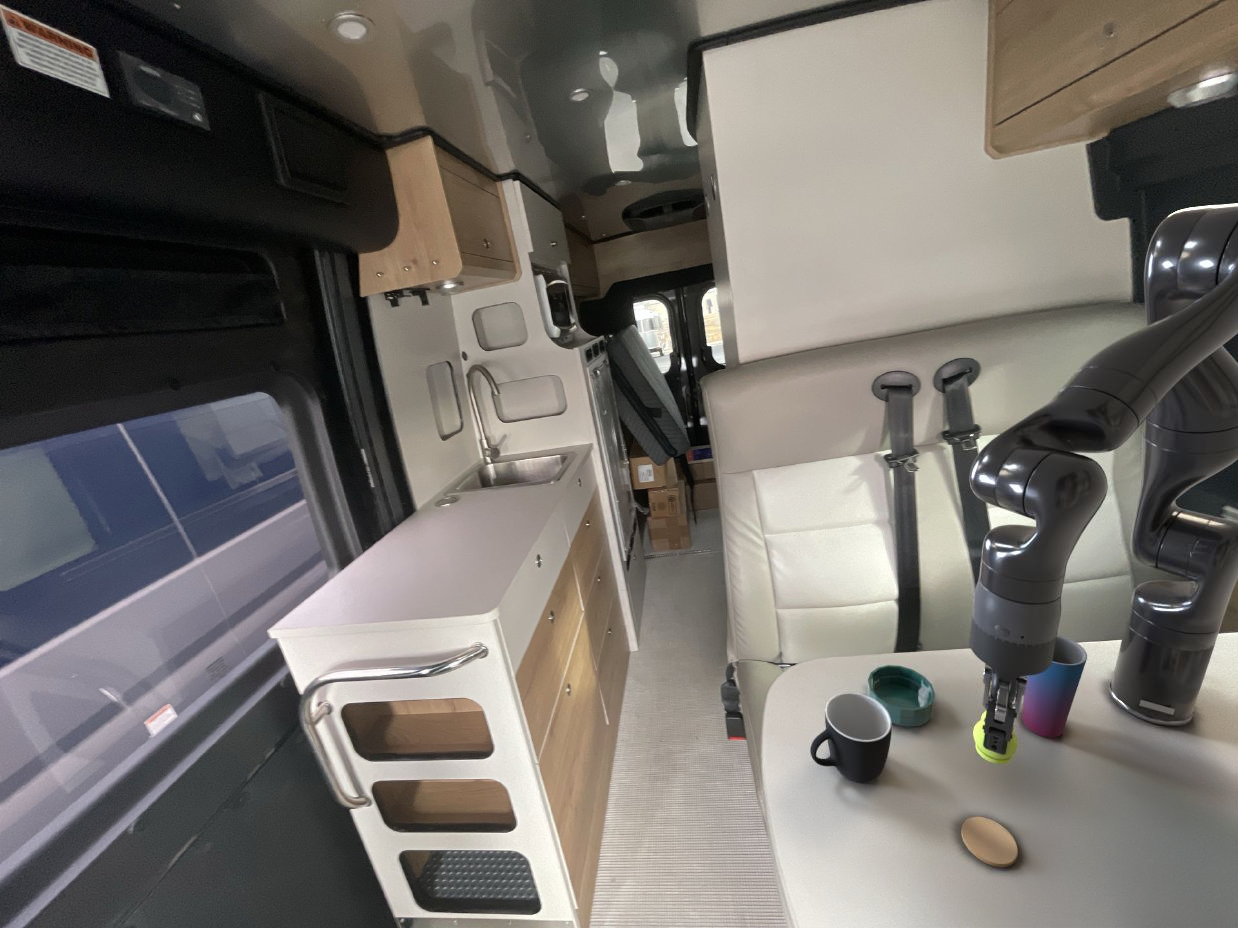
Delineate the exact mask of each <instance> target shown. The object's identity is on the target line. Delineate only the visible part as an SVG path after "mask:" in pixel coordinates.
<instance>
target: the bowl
mask: <svg viewBox="0 0 1238 928" xmlns="http://www.w3.org/2000/svg"><path fill="white" fill-rule="evenodd" d="M866 687H867V691H866V696H869V697H871V698H873V699H875V700H876V701H878V702H879V703H880V704H882V705H883V706H884V707H885V709H886V710H887V711H888V713H889V715H890V717H891V721H892V724H894V725H897V726H900V727H901V726H902V727H911V728H912V727H918V726H921V725H925V724H926V723H928V722H929V721H930V720H931V719H932V718H933V713H934V710H935V709H934V707H935V699H936V698H935V697H936V692H935V690H934V687H933V684H932V683H931V682H930V681H929V679H927V678H926V676H925V675H923V674H921V673H919V672H918V671H916V670H914V669H912V668H909V667H905V666H902V665H892V664H887V665H883V666H878V667H877V668H875V669H873V670H872V671H871V672H870V673H869V675H868V678H867V685H866Z"/></svg>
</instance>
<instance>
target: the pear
mask: <svg viewBox="0 0 1238 928" xmlns="http://www.w3.org/2000/svg"><path fill="white" fill-rule="evenodd" d="M984 718H986V710H985V711H984V712H983V713H982V715H981V717H980V720H979V721H977V722H976V724H975V725H974V727H973V732H972V733H973V734H972V735H973V740H974V743H975V750H976V751H977V753H978V754H979V756H980V757H981V758H983V759H984V760H986V761H987V762H989V763H992V764H995V765H1006V764H1008V763H1010V762H1011V760H1012V757H1013V756H1014V755H1015V754H1016V753H1017V751H1018V747H1019V740H1018V737H1017V734H1016V733H1015V723H1014V724H1013V732H1012V734H1013V737H1012V739H1011V740H1010V742H1008V744H1007V750H1006V754H1005V755H1001V754H998V753H996V752H993V751H990V750H987V749H986V748H984V746H983V742H984V735H985V733H984V729H982V728H983V725H985V722H984Z"/></svg>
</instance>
